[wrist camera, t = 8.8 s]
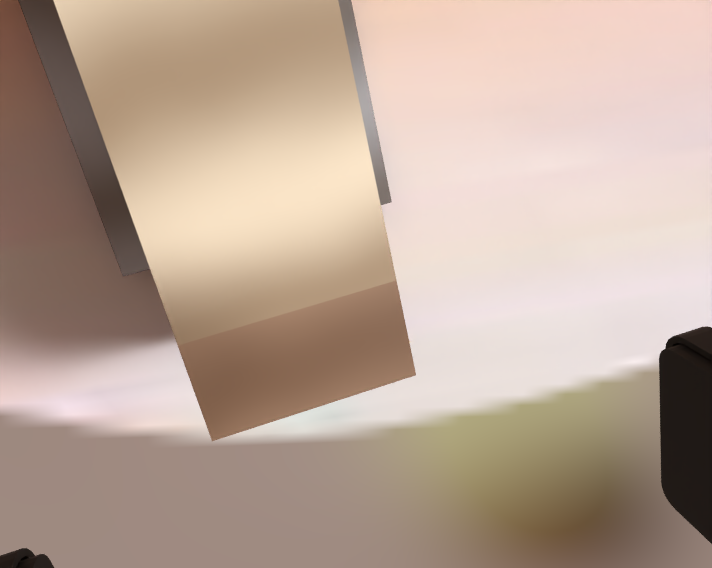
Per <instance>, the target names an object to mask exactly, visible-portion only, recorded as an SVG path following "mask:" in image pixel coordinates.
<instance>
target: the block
mask: <svg viewBox="0 0 712 568" xmlns="http://www.w3.org/2000/svg"><path fill="white" fill-rule="evenodd" d="M53 1H54V4H55V6H56V9H57V12H58V15H59V17H60V20H61V23H62V26H63V29H64V31H65V34H66V37H67V40H68V42H69V45H70V48H71V51H72V54H73V56H74V59H75V62H76V65H77V67H78V70H79V73H80V76H81V78H82V81H83V84H84V87H85V90H86V92H87V95H88V98H89V101H90V103H91V106H92V109H93V112H94V115H95V117H96V120H97V123H98V126H99V128H100V131H101V134H102V137H103V140H104V142H105V145H106V148H107V151H108V153H109V156H110V159H111V162H112V164H113V167H114V170H115V173H116V176H117V178H118V181H119V184H120V187H121V189H122V192H123V195H124V198H125V201H126V203H127V206H128V209H129V212H130V214H131V217H132V220H133V223H134V225H135V228H136V231H137V234H138V237H139V239H140V242H141V245H142V248H143V250H144V253H145V256H146V259H147V262H148V264H149V267H150V270H151V273H152V275H153V278H154V281H155V284H156V286H157V289H158V292H159V295H160V298H161V300H162V303H163V306H164V309H165V311H166V314H167V317H168V320H169V323H170V325H171V328H172V331H173V334H174V336H175V339H176V342H177V345H178V348H179V350H180V353H181V356H182V359H183V361H184V364H185V367H186V370H187V372H188V375H189V378H190V381H191V384H192V386H193V389H194V392H195V395H196V397H197V400H198V403H199V406H200V409H201V411H202V414H203V417H204V420H205V422H206V425H207V428H208V431H209V433H210V436H211V439H212V441H214V440H217V439H220V438H223V437H227V436H230V435H233V434H236V433H239V432H242V431H245V430H248V429H251V428H254V427H257V426H260V425H264V424H267V423H270V422H273V421H276V420H279V419H282V418H285V417H288V416H291V415H294V414H297V413H301V412H304V411H307V410H310V409H313V408H316V407H319V406H322V405H325V404H328V403H331V402H334V401H338V400H341V399H344V398H347V397H350V396H353V395H356V394H359V393H362V392H365V391H368V390H371V389H375V388H378V387H381V386H384V385H387V384H390V383H393V382H396V381H399V380H402V379H405V378H408V377H412V376H415V375H416V373H415V368H414V363H413V358H412V353H411V349H410V344H409V339H408V334H407V329H406V325H405V320H404V315H403V310H402V305H401V300H400V296H399V291H398V286H397V281H396V276H395V272H394V267H393V262H392V257H391V252H390V247H389V243H388V238H387V233H386V228H385V223H384V219H383V214H382V209H381V204H380V199H379V195H378V190H377V185H376V180H375V175H374V170H373V166H372V161H371V156H370V151H369V146H368V142H367V137H366V132H365V127H364V122H363V117H362V113H361V108H360V103H359V98H358V93H357V89H356V84H355V79H354V74H353V69H352V65H351V60H350V55H349V50H348V45H347V40H346V36H345V31H344V26H343V21H342V16H341V12H340V7H339V2H338V0H53Z"/></svg>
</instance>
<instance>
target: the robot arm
mask: <svg viewBox="0 0 712 568" xmlns="http://www.w3.org/2000/svg"><path fill="white" fill-rule="evenodd" d="M659 374H660V432H661V483H662V488H663V491H664V494H665V496H666V498H667V499H668V501H669V502H670V504H671V505H672V506H673V507H674V508H675V509H676V510H677V511H678V512H679V513H680V514H681V515H682V516H683V517H684V518H685V519H686V520H687V521H688V522H689V523H690V524H691V525H693V526H694V527H695V528H696V529H697V530H698V531H699V532H700V533H701V534H702V535H703V536H704V537H705V538H706V539H707V540H708V541H709V542H710V543H712V328H711V327H701V328H698V329H695V330H691V331H688V332H685V333H682V334H679V335H676V336H673V337H671V338H670V339H669V340H668V341H667V343H666V349H664V350H663V351H662V352H661V353H660V358H659ZM0 568H54V567H53V565H52V563H51V561H50V560H49V558H48V557H47V556H46V555H44V554H40V555H37V556H35V555H34V554H33V552H32V551H30V550H29V549H27V548H22V549H19V550H16V551H13V552H10V553H7V554H4V555H1V556H0Z"/></svg>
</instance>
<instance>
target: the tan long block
mask: <svg viewBox="0 0 712 568" xmlns="http://www.w3.org/2000/svg"><path fill="white" fill-rule="evenodd" d="M18 1H19V3H20V6H21V8H22V11H23V14H24V16H25V19H26V22H27V24H28V27H29V30H30V32H31V35H32V37H33V40H34V43H35V45H36V48H37V51H38V53H39V56H40V59H41V61H42V64H43V66H44V69H45V72H46V74H47V77H48V80H49V82H50V85H51V88H52V90H53V93H54V95H55V98H56V101H57V103H58V106H59V109H60V111H61V114H62V117H63V119H64V122H65V124H66V127H67V130H68V132H69V135H70V138H71V140H72V143H73V146H74V148H75V151H76V153H77V156H78V159H79V161H80V164H81V167H82V169H83V172H84V175H85V177H86V180H87V182H88V185H89V188H90V190H91V193H92V196H93V198H94V201H95V204H96V206H97V209H98V211H99V214H100V217H101V219H102V222H103V225H104V227H105V230H106V233H107V235H108V238H109V240H110V243H111V246H112V248H113V251H114V254H115V256H116V259H117V262H118V264H119V267H120V269H121V272H122V275H123V276H126V275H130V274H134V273H137V272H141V271H144V270H148V269H150V267H149V264H148V262H147V259H146V256H145V253H144V250H143V248H142V245H141V242H140V239H139V237H138V234H137V231H136V228H135V225H134V223H133V220H132V217H131V214H130V212H129V209H128V206H127V203H126V201H125V198H124V195H123V192H122V189H121V187H120V184H119V181H118V178H117V176H116V173H115V170H114V167H113V164H112V162H111V159H110V156H109V153H108V151H107V148H106V145H105V142H104V140H103V137H102V134H101V131H100V128H99V126H98V123H97V120H96V117H95V115H94V112H93V109H92V106H91V103H90V101H89V98H88V95H87V92H86V90H85V87H84V84H83V81H82V78H81V76H80V73H79V70H78V67H77V65H76V62H75V59H74V56H73V54H72V51H71V48H70V45H69V42H68V40H67V37H66V34H65V31H64V29H63V26H62V23H61V20H60V17H59V15H58V12H57V9H56V6H55V4H54V1H53V0H18ZM338 2H339V7H340V12H341V16H342V21H343V26H344V31H345V36H346V40H347V45H348V50H349V55H350V60H351V65H352V69H353V74H354V79H355V84H356V89H357V93H358V98H359V103H360V108H361V113H362V117H363V122H364V127H365V132H366V137H367V142H368V146H369V151H370V156H371V161H372V166H373V170H374V175H375V180H376V185H377V190H378V195H379V199H380V204H381V205H383V204H387V203H390V202H391V197H390V192H389V187H388V182H387V177H386V172H385V167H384V162H383V157H382V152H381V147H380V142H379V137H378V132H377V127H376V122H375V117H374V112H373V107H372V102H371V97H370V92H369V87H368V82H367V77H366V72H365V67H364V62H363V57H362V52H361V47H360V42H359V37H358V32H357V27H356V22H355V17H354V12H353V7H352V2H351V0H338Z"/></svg>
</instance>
